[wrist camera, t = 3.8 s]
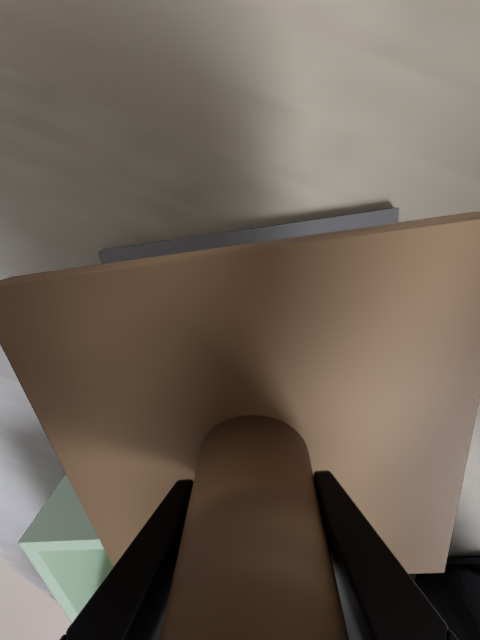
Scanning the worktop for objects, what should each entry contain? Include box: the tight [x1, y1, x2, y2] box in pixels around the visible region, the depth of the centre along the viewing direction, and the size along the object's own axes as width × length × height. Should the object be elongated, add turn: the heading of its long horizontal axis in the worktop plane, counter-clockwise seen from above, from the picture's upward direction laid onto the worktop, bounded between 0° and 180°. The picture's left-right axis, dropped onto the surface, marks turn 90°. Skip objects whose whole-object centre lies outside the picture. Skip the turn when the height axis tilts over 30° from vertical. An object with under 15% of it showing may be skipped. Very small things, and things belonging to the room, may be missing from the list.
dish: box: [18, 474, 113, 623], centre depth 19 cm, size 10×10×5 cm
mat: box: [98, 208, 399, 264], centre depth 16 cm, size 14×12×1 cm
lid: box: [0, 212, 480, 640], centre depth 7 cm, size 12×12×6 cm
